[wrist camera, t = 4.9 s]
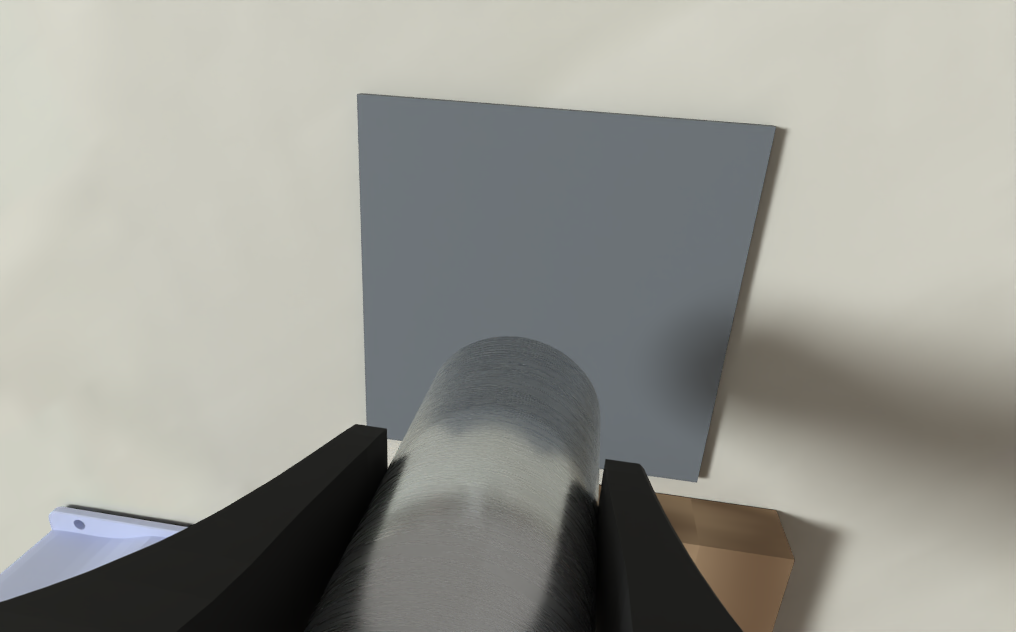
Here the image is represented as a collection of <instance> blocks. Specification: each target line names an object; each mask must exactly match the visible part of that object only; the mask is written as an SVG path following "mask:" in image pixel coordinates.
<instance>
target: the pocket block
mask: <svg viewBox="0 0 1016 632" xmlns="http://www.w3.org/2000/svg"><path fill="white" fill-rule="evenodd" d="M600 492H601V485H599V498H600ZM655 494H656V496H657V498H658V500H659V502H660V504H661V506H662V508H663V510H664V512H665V514H666V516H667V517H668V519H669V521H670V523H671V525H672V526H673V528H674V530H675V532H676V533H677V535H678V537H679V538H680V540H681V542H682V543H683V545H684V547H685V548H686V550H687V552H688V554H689V555H690V557H691V558H692V560H693V562H694V563H695V565H696V566H697V568H698V569H699V571H700V572H701V574H702V575H703V577H704V578H705V580H706V581H707V583H708V584H709V586H710V587H711V589H712V590H713V592H714V593H715V594H716V596H717V597H718V599H719V600H720V601H721V603H722V604H723V606H724V607H725V608H726V610H727V611H728V612H729V614H730V615H731V616H732V618H733V619H734V620H735V622H736V623H737V624H738V625H739V627H740V628H741V629H742V630H743V632H772V630H773V627H774V624H775V621H776V618H777V615H778V611H779V608H780V605H781V602H782V599H783V596H784V592H785V589H786V586H787V583H788V580H789V577H790V573H791V570H792V567H793V564H794V561H795V559H794V556H793V554H792V551H791V548H790V546H789V543H788V540H787V538H786V535H785V532H784V530H783V527H782V524H781V522H780V519H779V516H778V514H777V511H776V510H770V509H763V508H756V507H749V506H742V505H735V504H728V503H721V502H714V501H707V500H700V499H693V498H686V497H679V496H672V495H665V494H658V493H655ZM598 505H599V503H598Z"/></svg>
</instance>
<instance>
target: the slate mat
mask: <svg viewBox="0 0 1016 632" xmlns="http://www.w3.org/2000/svg"><path fill="white" fill-rule="evenodd" d="M357 110H358V144H359V178H360V212H361V246H362V280H363V314H364V348H365V382H366V416H367V426H373V427H380V428H387V439H392V440H399V441H402V440H403V439H404V437H405V435H406V433H407V431H408V429H409V427H410V425H411V423H412V421H413V419H414V417H415V415H416V413H417V412H418V410H419V408H420V406H421V404H422V402H423V400H424V398H425V396H426V394H427V392H428V390H429V388H430V387H431V385H432V383H433V381H434V379H435V377H436V375H437V373H438V371H439V370H440V368H441V367H442V366H443V364H444V363H445V362H446V361H447V360H448V359H449V358H450V357H451V356H452V355H453V354H454V353H456V352H457V351H458V350H460V349H462V348H463V347H465V346H467V345H469V344H471V343H474V342H476V341H479V340H483V339H487V338H491V337H500V336H515V337H523V338H528V339H533V340H537V341H539V342H542V343H545V344H548V345H550V346H552V347H554V348H556V349H557V350H559V351H561V352H562V353H564V354H565V355H567V356H568V357H569V358H571V359H572V360H573V361H574V362H575V363H576V364H577V365H578V366H579V367H580V368H581V369H582V370H583V371H584V373H585V374H586V375H587V377H588V378H589V380H590V381H591V383H592V385H593V387H594V389H595V391H596V394H597V398H598V401H599V406H600V461H599V469H604V465H605V459H610V460H617V461H624V462H631V463H638V464H640V465H641V466H642V467H643V468H644V470H645V472H646V474H647V475H648V476H655V477H662V478H669V479H676V480H683V481H690V482H697V480H698V476H699V471H700V467H701V462H702V458H703V453H704V449H705V444H706V440H707V435H708V431H709V426H710V422H711V417H712V413H713V408H714V404H715V399H716V395H717V390H718V386H719V381H720V377H721V372H722V368H723V363H724V359H725V354H726V350H727V345H728V341H729V336H730V332H731V327H732V323H733V318H734V314H735V309H736V305H737V300H738V296H739V291H740V287H741V282H742V278H743V273H744V269H745V264H746V260H747V255H748V251H749V246H750V242H751V237H752V233H753V228H754V224H755V219H756V215H757V210H758V206H759V201H760V197H761V192H762V188H763V183H764V179H765V174H766V170H767V165H768V161H769V156H770V152H771V147H772V143H773V138H774V134H775V129H776V127H775V126H772V125H760V124H747V123H734V122H721V121H708V120H696V119H683V118H670V117H657V116H644V115H632V114H619V113H606V112H593V111H580V110H568V109H555V108H542V107H529V106H516V105H504V104H491V103H478V102H465V101H452V100H440V99H427V98H414V97H401V96H388V95H376V94H363V93H361V94H357Z"/></svg>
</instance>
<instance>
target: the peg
mask: <svg viewBox="0 0 1016 632" xmlns="http://www.w3.org/2000/svg"><path fill="white" fill-rule="evenodd" d="M599 461H600V406H599V401H598V398H597V394H596V391H595V389H594V387H593V385H592V383H591V381H590V380H589V378H588V377H587V375H586V374H585V373H584V371H583V370H582V369H581V368H580V367H579V366H578V365H577V364H576V363H575V362H574V361H573V360H572V359H571V358H569V357H568V356H567V355H565V354H564V353H562V352H561V351H559V350H557V349H556V348H554V347H552V346H550V345H548V344H545V343H542V342H539V341H537V340H533V339H528V338H523V337H515V336H500V337H491V338H487V339H483V340H479V341H476V342H474V343H471V344H469V345H467V346H465V347H463V348H462V349H460V350H458V351H457V352H456V353H454V354H453V355H452V356H451V357H450V358H449V359H448V360H447V361H446V362H445V363H444V364H443V366H442V367H441V368H440V370H439V371H438V373H437V375H436V377H435V379H434V381H433V383H432V385H431V387H430V388H429V390H428V392H427V394H426V396H425V398H424V400H423V402H422V404H421V406H420V408H419V410H418V412H417V413H416V415H415V417H414V419H413V421H412V423H411V425H410V427H409V429H408V431H407V433H406V435H405V437H404V439H403V440H402V442H401V444H400V446H399V448H398V450H397V452H396V454H395V456H394V458H393V460H392V462H391V464H390V466H389V467H388V469H387V471H386V473H385V475H384V477H383V479H382V481H381V483H380V485H379V487H378V489H377V491H376V492H375V494H374V496H373V498H372V500H371V502H370V504H369V506H368V508H367V510H366V512H365V514H364V516H363V518H362V519H361V521H360V523H359V525H358V527H357V529H356V531H355V533H354V535H353V537H352V539H351V541H350V543H349V545H348V546H347V548H346V550H345V552H344V554H343V556H342V558H341V560H340V562H339V564H338V566H337V568H336V570H335V571H334V573H333V575H332V577H331V579H330V581H329V583H328V585H327V587H326V589H325V591H324V593H323V595H322V597H321V598H320V600H319V602H318V604H317V606H316V608H315V610H314V612H313V614H312V616H311V618H310V620H309V622H308V624H307V625H306V627H305V629H304V631H303V632H595V629H596V587H597V533H598V503H599Z"/></svg>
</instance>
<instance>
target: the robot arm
mask: <svg viewBox="0 0 1016 632" xmlns="http://www.w3.org/2000/svg"><path fill="white" fill-rule="evenodd" d="M387 469H388V465H387V428H380V427H373V426H365V425H358V424H355V425H354V426H352V427H351V428H349V429H347V430H346V431H344V432H343V433H341V434H340V435H338V436H337V437H335V438H334V439H332V440H331V441H329V442H328V443H327V444H325V445H324V446H322V447H321V448H319V449H318V450H316V451H315V452H313V453H312V454H310V455H309V456H307V457H306V458H304V459H303V460H301V461H300V462H298V463H297V464H295V465H294V466H292V467H291V468H289V469H288V470H286V471H285V472H283V473H282V474H280V475H279V476H277V477H276V478H274V479H272V480H271V481H269V482H267V483H266V484H264V485H262V486H261V487H259V488H257V489H256V490H254V491H252V492H251V493H249V494H247V495H246V496H244V497H242V498H241V499H239V500H237V501H236V502H234V503H232V504H231V505H229V506H227V507H225V508H224V509H222V510H220V511H218V512H217V513H215V514H213V515H211V516H209V517H207V518H205V519H203V520H202V521H200V522H198V523H196V524H194V525H192V526H190V527H184V526H178V525H172V524H166V523H159V522H153V521H147V520H141V519H135V518H129V517H123V516H117V515H110V514H104V513H98V512H92V511H86V510H80V509H74V508H67V507H57V508H55V509H54V510H53V511H52V512H51V513H50V514H49V521H50V525H51V528H52V530H51V531H50V532H49V533H48V534H47V535H46V536H44V537H43V538H42V539H41V540H40V541H38V542H37V543H36V544H35V545H34V546H33V547H31V548H30V549H29V550H28V551H27V552H25V553H24V554H23V555H22V556H21V557H20V558H18V559H17V560H16V561H15V562H14V563H13V564H11V565H10V566H9V567H8V568H7V569H5V570H4V571H3V572H2V573H1V574H0V632H303V631H304V629H305V627H306V625H307V624H308V622H309V620H310V618H311V616H312V614H313V612H314V610H315V608H316V606H317V604H318V602H319V600H320V598H321V597H322V595H323V593H324V591H325V589H326V587H327V585H328V583H329V581H330V579H331V577H332V575H333V573H334V571H335V570H336V568H337V566H338V564H339V562H340V560H341V558H342V556H343V554H344V552H345V550H346V548H347V546H348V545H349V543H350V541H351V539H352V537H353V535H354V533H355V531H356V529H357V527H358V525H359V523H360V521H361V519H362V518H363V516H364V514H365V512H366V510H367V508H368V506H369V504H370V502H371V500H372V498H373V496H374V494H375V492H376V491H377V489H378V487H379V485H380V483H381V481H382V479H383V477H384V475H385V473H386V471H387ZM595 632H743V630H742V629H741V628H740V627H739V625H738V624H737V623H736V622H735V620H734V619H733V618H732V616H731V615H730V614H729V612H728V611H727V610H726V608H725V607H724V606H723V604H722V603H721V601H720V600H719V599H718V597H717V596H716V594H715V593H714V592H713V590H712V589H711V587H710V586H709V584H708V583H707V581H706V580H705V578H704V577H703V575H702V574H701V572H700V571H699V569H698V568H697V566H696V565H695V563H694V562H693V560H692V558H691V557H690V555H689V554H688V552H687V550H686V548H685V547H684V545H683V543H682V542H681V540H680V538H679V537H678V535H677V533H676V532H675V530H674V528H673V526H672V525H671V523H670V521H669V519H668V517H667V516H666V514H665V512H664V510H663V508H662V506H661V504H660V502H659V500H658V498H657V496H656V494H655V492H654V490H653V488H652V486H651V483H650V481H649V479H648V477H647V474H646V472H645V470H644V468H643V467H642V466H641V465H640V464H638V463H631V462H624V461H617V460H610V459H605V465H604V472H603V478H602V485H601V492H600V498H599V505H598V533H597V587H596V629H595Z"/></svg>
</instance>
